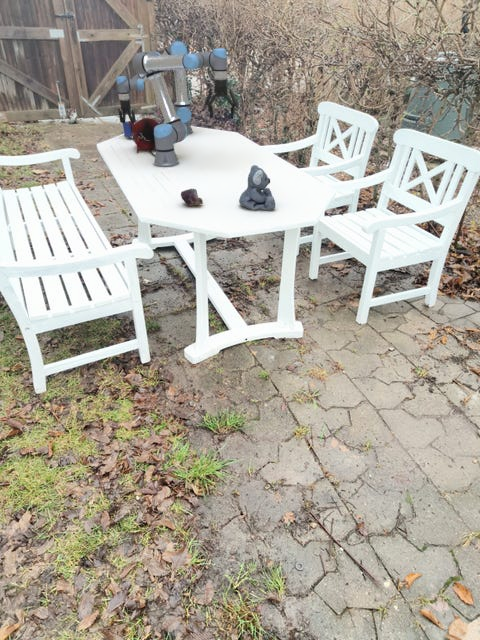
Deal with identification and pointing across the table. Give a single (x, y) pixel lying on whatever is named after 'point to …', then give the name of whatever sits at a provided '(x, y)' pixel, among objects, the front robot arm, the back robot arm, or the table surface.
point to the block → (127, 129)
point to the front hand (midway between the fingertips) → (221, 118)
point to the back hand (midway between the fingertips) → (129, 132)
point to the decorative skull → (144, 134)
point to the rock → (191, 197)
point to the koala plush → (257, 191)
